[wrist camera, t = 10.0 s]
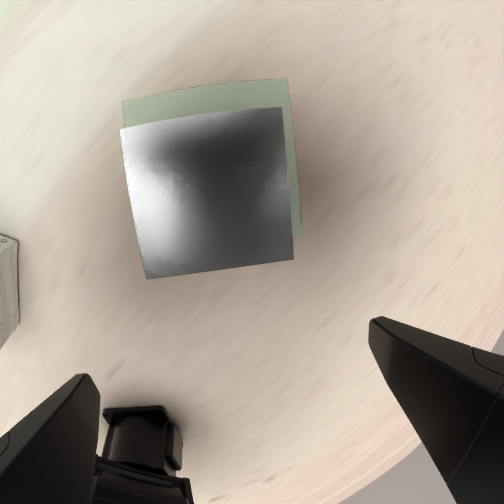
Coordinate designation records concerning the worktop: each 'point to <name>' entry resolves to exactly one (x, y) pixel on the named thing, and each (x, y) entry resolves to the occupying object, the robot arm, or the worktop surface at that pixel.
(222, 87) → the top block
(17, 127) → the worktop surface
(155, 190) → the cube
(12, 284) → the skincare box
